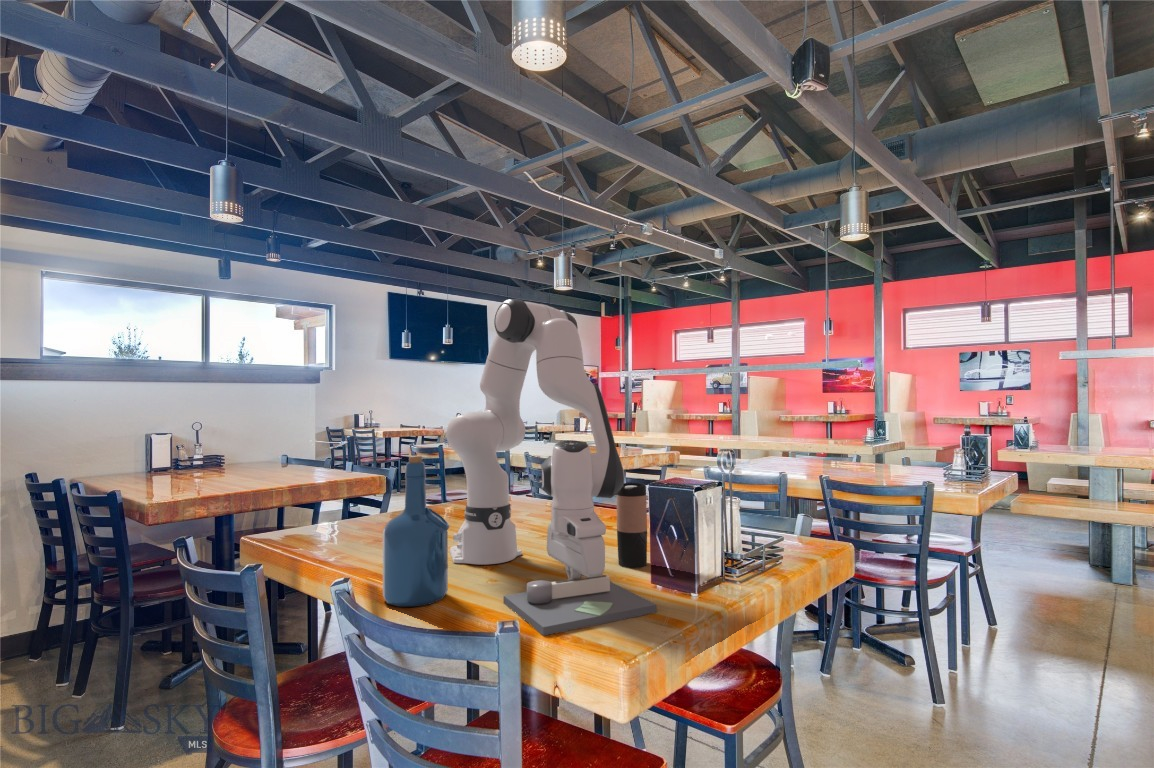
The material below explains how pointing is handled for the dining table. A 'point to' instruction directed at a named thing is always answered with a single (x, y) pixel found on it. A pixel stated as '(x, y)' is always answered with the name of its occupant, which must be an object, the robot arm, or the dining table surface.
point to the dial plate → (580, 609)
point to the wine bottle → (415, 547)
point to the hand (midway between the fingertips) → (574, 587)
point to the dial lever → (565, 588)
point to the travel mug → (632, 525)
